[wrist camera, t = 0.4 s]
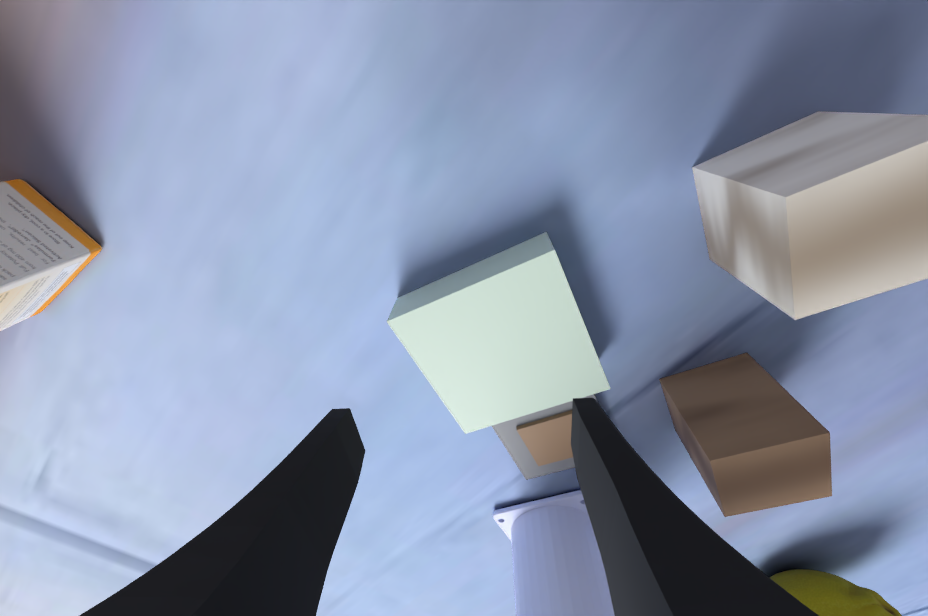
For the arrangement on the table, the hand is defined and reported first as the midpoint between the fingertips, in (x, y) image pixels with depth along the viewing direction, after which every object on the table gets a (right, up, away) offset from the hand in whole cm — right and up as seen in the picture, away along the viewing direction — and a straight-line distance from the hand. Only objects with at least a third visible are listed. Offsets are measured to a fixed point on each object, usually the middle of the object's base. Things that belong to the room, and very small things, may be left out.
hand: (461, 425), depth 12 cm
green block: (+2, +3, +10) cm, 11 cm away
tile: (+6, -5, +14) cm, 16 cm away
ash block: (+14, +9, +5) cm, 18 cm away
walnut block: (+16, -2, +11) cm, 19 cm away
